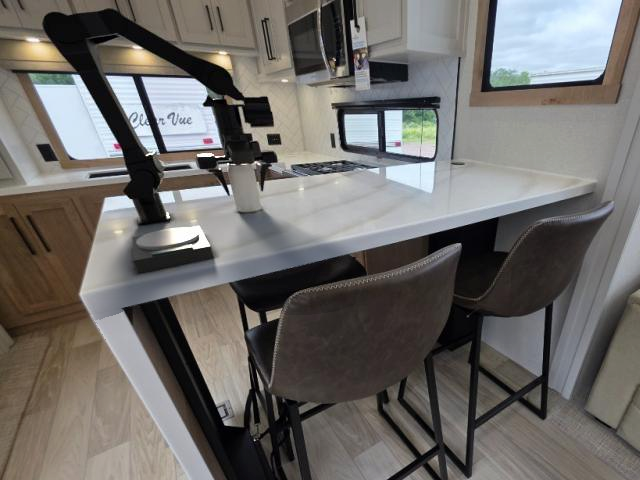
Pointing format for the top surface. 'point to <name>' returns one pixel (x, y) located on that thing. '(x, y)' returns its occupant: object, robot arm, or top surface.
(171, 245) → the scale
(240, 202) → the can
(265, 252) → the top surface
